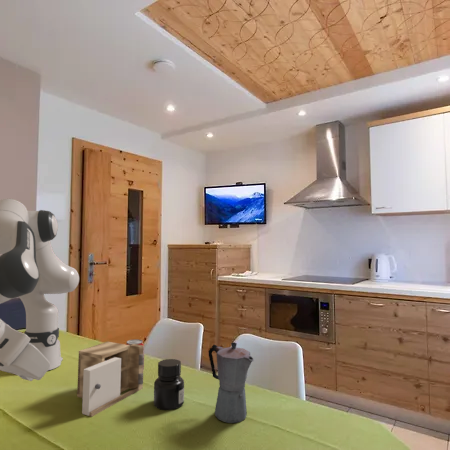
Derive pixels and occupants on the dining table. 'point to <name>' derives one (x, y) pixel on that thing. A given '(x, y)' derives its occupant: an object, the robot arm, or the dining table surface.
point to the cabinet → (129, 367)
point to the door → (101, 384)
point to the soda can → (136, 343)
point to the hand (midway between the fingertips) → (30, 377)
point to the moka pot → (231, 382)
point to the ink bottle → (169, 385)
